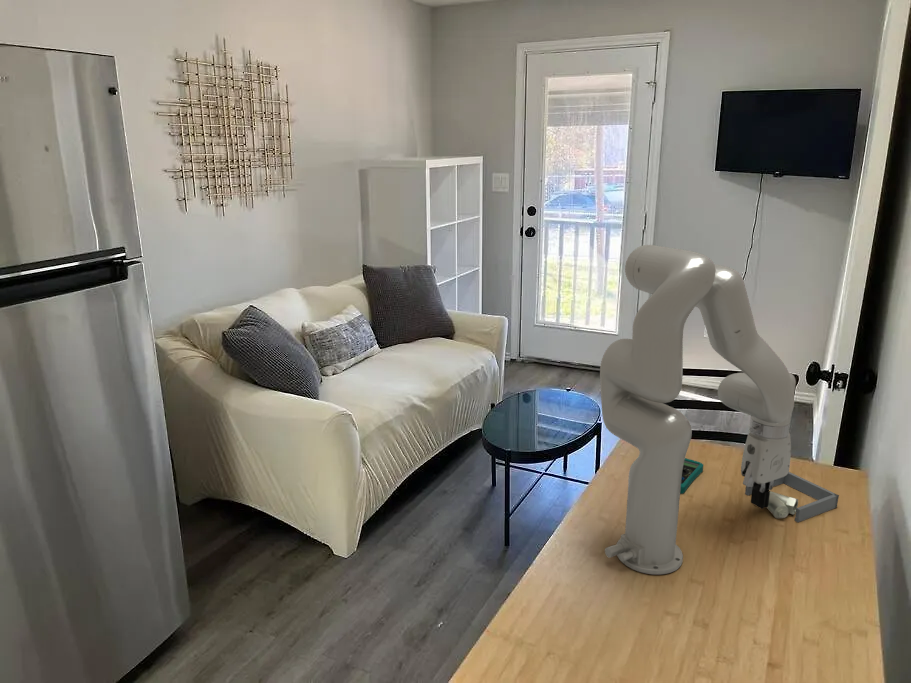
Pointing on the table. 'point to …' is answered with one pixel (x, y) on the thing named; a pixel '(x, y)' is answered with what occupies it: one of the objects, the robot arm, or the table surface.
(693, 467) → the digital multimeter
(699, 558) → the table surface
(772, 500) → the pipe fitting
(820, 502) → the gray u-shaped frame
